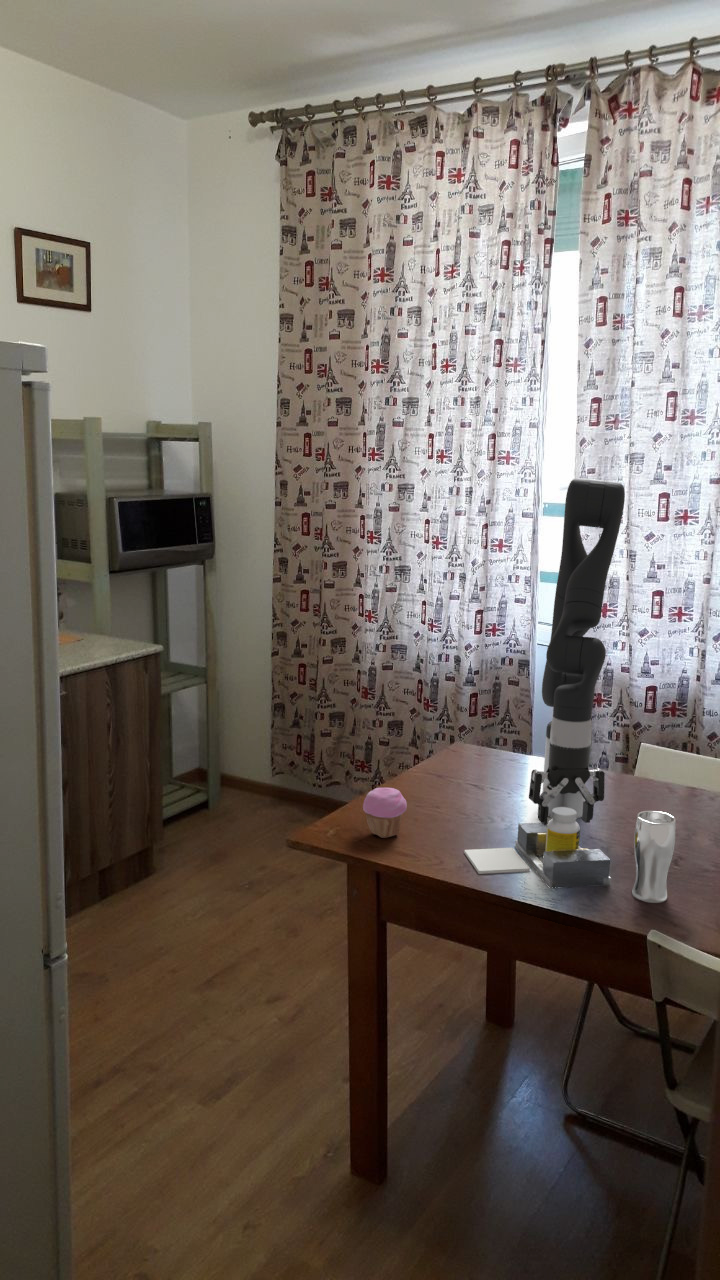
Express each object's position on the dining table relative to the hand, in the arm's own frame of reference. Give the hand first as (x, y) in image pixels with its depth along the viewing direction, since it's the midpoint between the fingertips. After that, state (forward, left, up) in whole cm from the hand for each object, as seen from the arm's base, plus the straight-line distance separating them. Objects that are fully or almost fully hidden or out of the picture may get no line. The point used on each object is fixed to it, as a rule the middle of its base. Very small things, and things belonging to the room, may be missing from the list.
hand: (564, 822), depth 190 cm
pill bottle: (0, 0, -9) cm, 9 cm away
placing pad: (-3, -12, -9) cm, 15 cm away
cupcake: (-19, -31, -9) cm, 38 cm away
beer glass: (+14, +11, -9) cm, 20 cm away
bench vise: (0, 0, -9) cm, 9 cm away
